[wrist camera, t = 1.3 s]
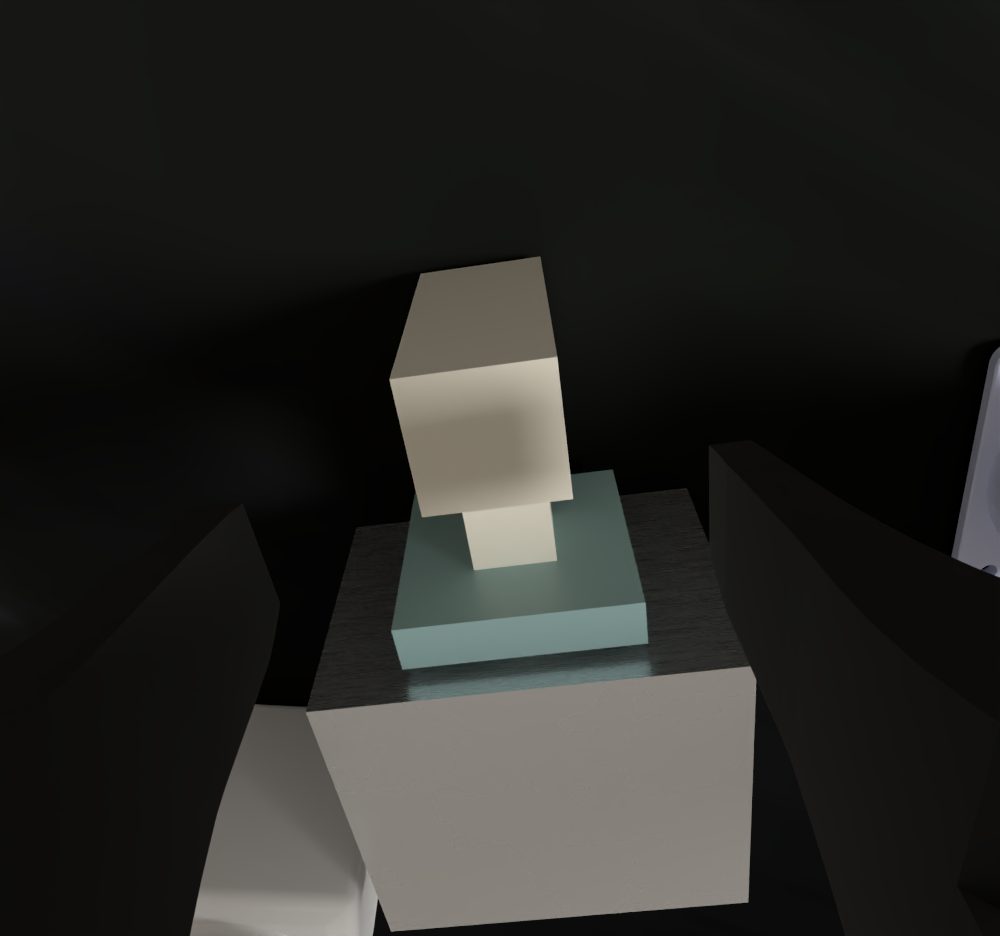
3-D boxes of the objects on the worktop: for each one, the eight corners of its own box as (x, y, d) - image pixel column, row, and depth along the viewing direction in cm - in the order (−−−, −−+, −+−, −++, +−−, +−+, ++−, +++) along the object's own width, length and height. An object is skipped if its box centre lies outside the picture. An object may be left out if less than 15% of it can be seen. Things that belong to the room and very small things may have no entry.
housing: (686, 487, 23) (756, 665, 17) (691, 700, 27) (748, 902, 21) (356, 527, 24) (305, 712, 17) (415, 728, 28) (391, 931, 22)
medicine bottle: (209, 821, 31) (64, 1228, 21) (185, 696, 27) (-6, 1113, 17) (387, 829, 31) (332, 1235, 21) (387, 705, 28) (320, 1123, 17)
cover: (592, 248, 19) (631, 346, 13) (625, 651, 26) (660, 825, 20) (369, 281, 19) (317, 388, 14) (460, 668, 26) (450, 844, 21)
